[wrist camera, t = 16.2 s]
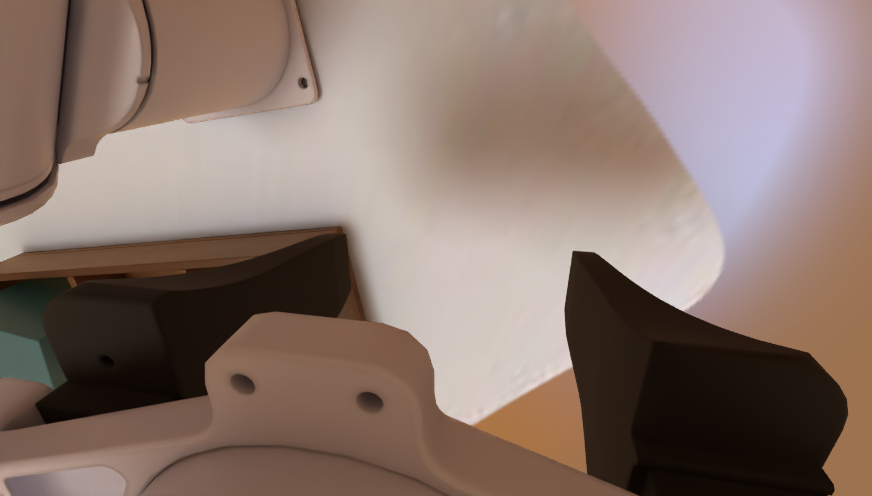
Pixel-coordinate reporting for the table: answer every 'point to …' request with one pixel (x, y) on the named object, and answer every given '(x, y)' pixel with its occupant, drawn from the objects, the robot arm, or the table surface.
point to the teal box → (29, 331)
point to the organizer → (161, 260)
